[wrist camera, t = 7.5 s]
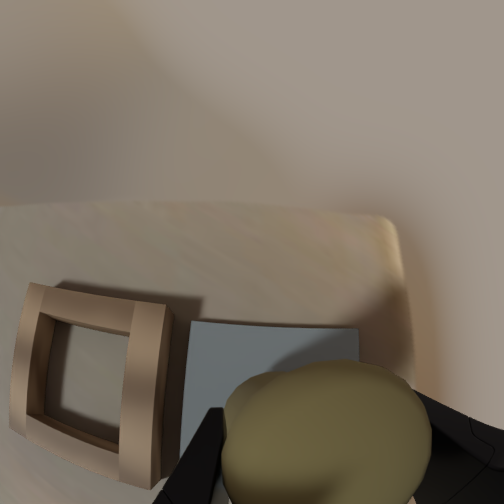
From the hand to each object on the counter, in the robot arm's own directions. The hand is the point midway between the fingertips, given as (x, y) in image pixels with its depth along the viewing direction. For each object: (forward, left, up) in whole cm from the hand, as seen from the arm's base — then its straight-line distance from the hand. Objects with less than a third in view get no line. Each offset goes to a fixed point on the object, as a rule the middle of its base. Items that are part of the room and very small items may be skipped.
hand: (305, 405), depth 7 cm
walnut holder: (-1, +14, -11) cm, 17 cm away
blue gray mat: (-1, 0, -11) cm, 11 cm away
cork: (-1, 0, -7) cm, 7 cm away
